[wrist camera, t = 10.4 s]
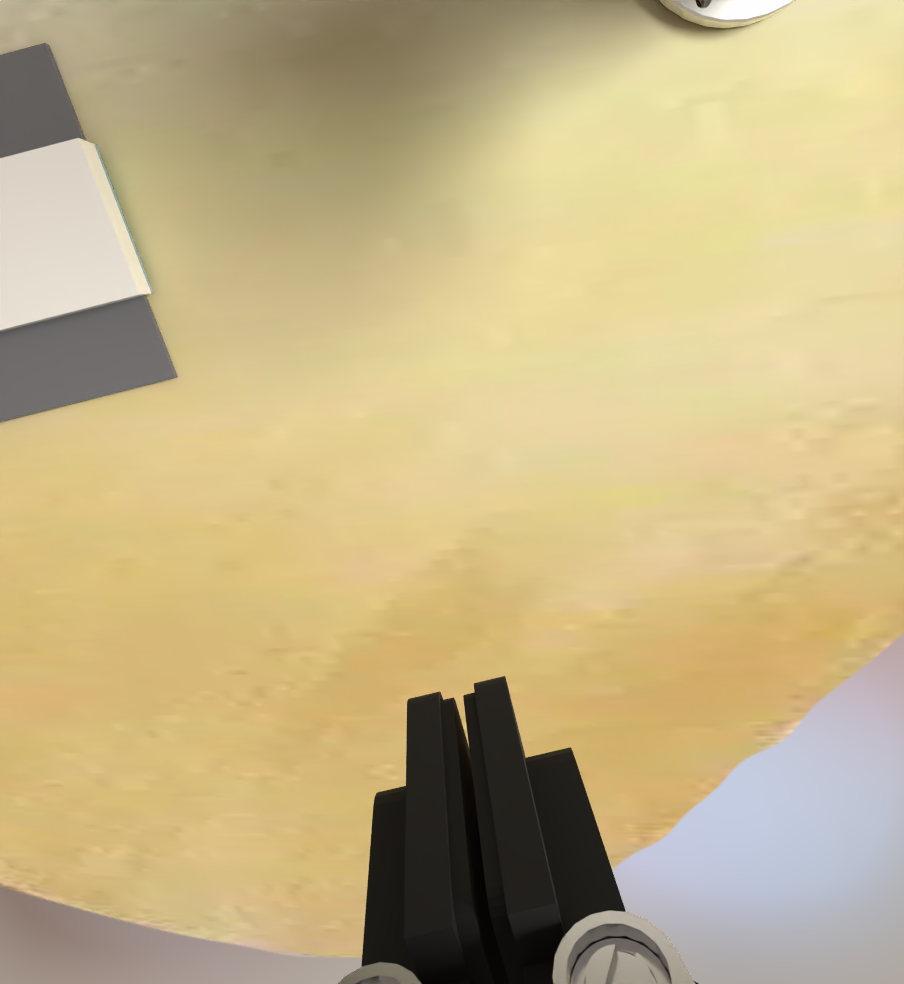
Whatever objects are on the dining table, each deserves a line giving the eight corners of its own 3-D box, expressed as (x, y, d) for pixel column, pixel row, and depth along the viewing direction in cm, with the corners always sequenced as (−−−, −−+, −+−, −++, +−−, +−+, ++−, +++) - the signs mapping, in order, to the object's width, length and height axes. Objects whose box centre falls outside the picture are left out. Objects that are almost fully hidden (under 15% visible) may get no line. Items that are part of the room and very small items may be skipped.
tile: (78, 137, 33) (-105, 185, 33) (139, 294, 36) (-30, 337, 36) (96, 144, 35) (-77, 190, 35) (153, 293, 37) (-8, 334, 38)
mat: (49, 45, 33) (44, 43, 33) (177, 376, 39) (175, 377, 39) (-184, 107, 34) (-191, 105, 33) (-21, 426, 40) (-25, 428, 39)
